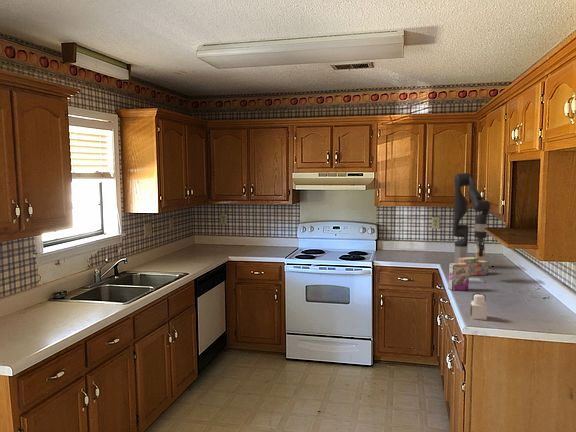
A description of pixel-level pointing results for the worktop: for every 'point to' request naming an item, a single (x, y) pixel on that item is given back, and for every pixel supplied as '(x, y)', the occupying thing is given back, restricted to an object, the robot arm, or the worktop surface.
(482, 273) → the stack of blocks
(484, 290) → the worktop surface
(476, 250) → the cream and brown block
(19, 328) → the worktop surface
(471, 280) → the base plate
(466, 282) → the candy bar box
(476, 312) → the medicine bottle
